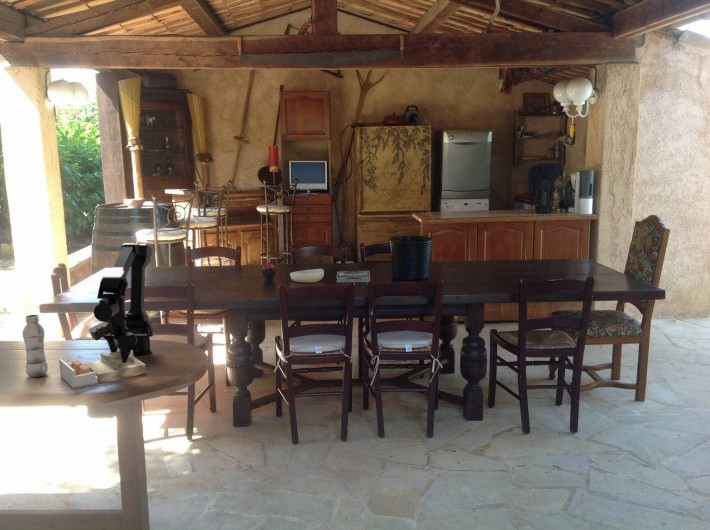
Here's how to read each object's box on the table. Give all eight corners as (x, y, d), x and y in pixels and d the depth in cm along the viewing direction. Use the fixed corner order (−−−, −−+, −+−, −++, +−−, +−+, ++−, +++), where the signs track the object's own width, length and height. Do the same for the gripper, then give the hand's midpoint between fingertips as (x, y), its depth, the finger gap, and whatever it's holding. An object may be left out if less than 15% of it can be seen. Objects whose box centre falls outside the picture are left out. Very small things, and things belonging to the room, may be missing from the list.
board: (129, 362, 221) (129, 353, 221) (145, 373, 211) (145, 364, 210) (84, 371, 212) (84, 363, 211) (99, 383, 201) (98, 374, 201)
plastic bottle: (25, 380, 204) (19, 319, 200) (27, 373, 210) (21, 314, 206) (48, 377, 206) (42, 317, 202) (48, 371, 212) (43, 312, 209)
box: (83, 372, 211) (82, 354, 210) (98, 384, 201) (96, 365, 200) (60, 377, 207) (59, 359, 206) (74, 389, 196) (72, 370, 195)
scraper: (125, 355, 219) (124, 345, 218) (139, 364, 210) (138, 354, 209) (101, 360, 214) (100, 350, 213) (114, 370, 205) (113, 359, 204)
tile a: (78, 360, 208) (71, 361, 206) (82, 363, 204) (76, 364, 203) (79, 373, 209) (72, 374, 207) (83, 377, 205) (77, 378, 204)
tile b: (85, 364, 204) (78, 365, 202) (89, 368, 200) (83, 369, 199) (86, 377, 204) (79, 379, 203) (90, 381, 201) (84, 383, 200)
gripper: (81, 311, 210) (84, 357, 213) (100, 323, 196) (104, 372, 199) (114, 306, 217) (118, 350, 220) (136, 317, 203) (139, 364, 206)
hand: (119, 359), depth 211 cm, fingers open, 9 cm apart
